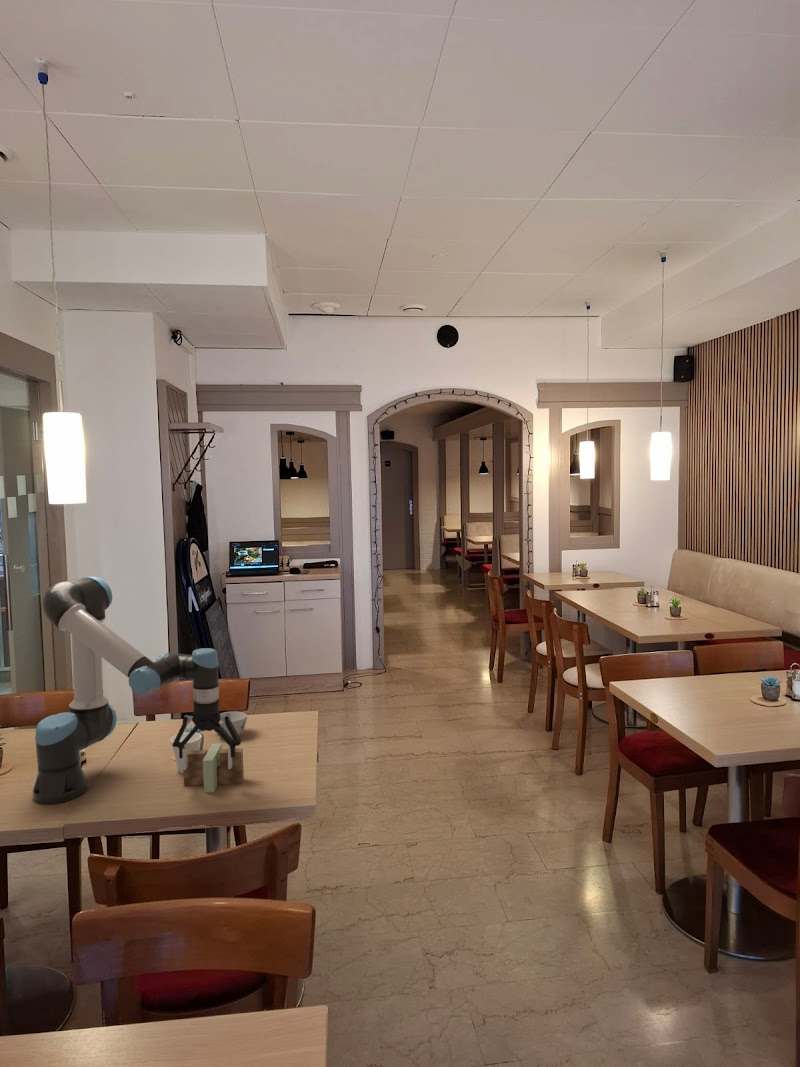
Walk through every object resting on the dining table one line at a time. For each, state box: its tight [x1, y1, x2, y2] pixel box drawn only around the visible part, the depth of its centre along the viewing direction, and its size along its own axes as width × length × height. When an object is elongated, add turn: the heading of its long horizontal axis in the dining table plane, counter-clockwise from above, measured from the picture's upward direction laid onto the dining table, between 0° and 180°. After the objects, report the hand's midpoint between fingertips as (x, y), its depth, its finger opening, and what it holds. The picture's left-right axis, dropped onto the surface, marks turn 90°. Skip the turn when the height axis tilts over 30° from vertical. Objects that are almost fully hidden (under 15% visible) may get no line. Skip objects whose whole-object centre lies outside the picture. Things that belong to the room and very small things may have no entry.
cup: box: [170, 731, 203, 774], centre depth 232 cm, size 10×10×11 cm
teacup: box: [217, 710, 248, 740], centre depth 261 cm, size 15×12×8 cm
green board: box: [203, 742, 223, 793], centre depth 222 cm, size 14×3×10 cm, turn 3°
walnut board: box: [182, 748, 245, 786], centre depth 222 cm, size 18×3×10 cm, turn 93°
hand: (207, 767), depth 216 cm, fingers open, 13 cm apart
